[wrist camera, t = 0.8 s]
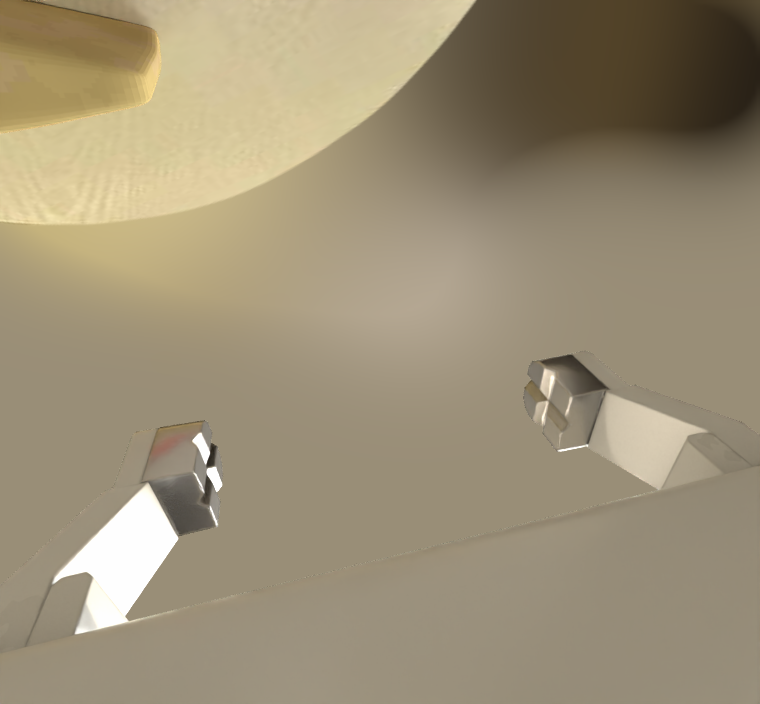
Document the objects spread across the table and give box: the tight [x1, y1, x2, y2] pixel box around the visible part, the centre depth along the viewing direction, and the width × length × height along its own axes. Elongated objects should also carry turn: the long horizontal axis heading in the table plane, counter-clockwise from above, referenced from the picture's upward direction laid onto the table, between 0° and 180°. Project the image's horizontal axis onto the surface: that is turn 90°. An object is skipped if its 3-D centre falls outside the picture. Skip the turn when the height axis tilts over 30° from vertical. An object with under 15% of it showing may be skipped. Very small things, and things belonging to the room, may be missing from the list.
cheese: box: [0, 0, 161, 134], centre depth 33 cm, size 22×10×15 cm, turn 83°
